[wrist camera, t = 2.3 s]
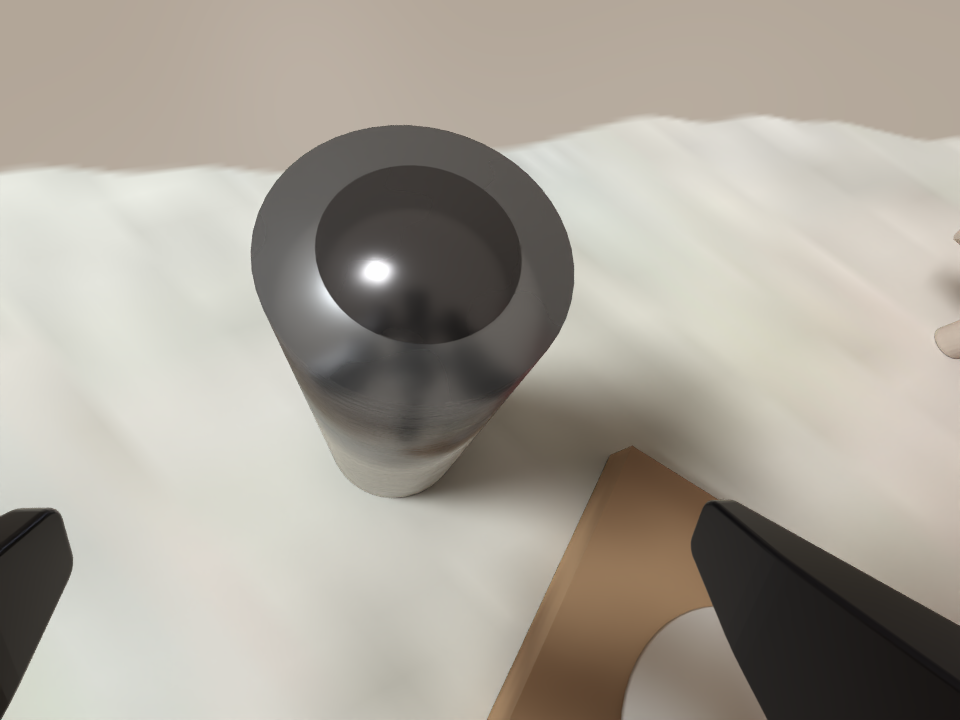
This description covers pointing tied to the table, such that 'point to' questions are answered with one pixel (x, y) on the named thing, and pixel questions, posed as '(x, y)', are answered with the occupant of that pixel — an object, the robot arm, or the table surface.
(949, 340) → the pipe connector
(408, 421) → the steel hub
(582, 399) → the table surface
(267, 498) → the table surface
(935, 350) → the table surface
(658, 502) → the mounting plate
